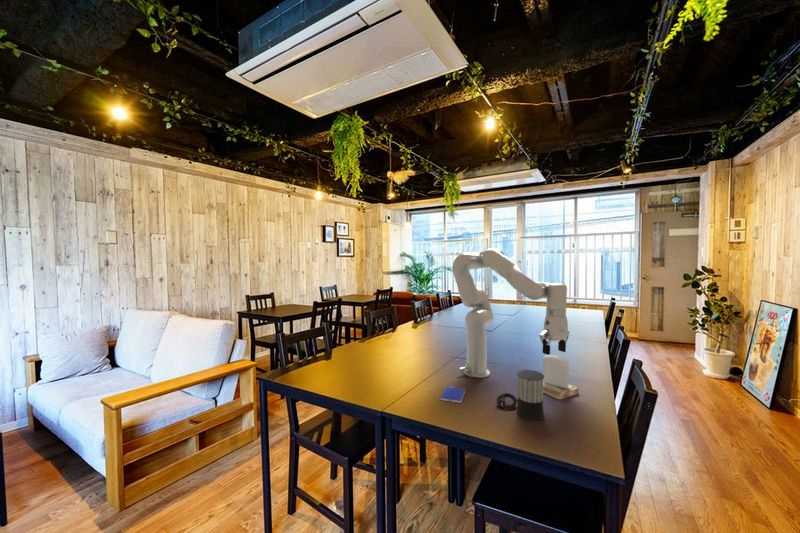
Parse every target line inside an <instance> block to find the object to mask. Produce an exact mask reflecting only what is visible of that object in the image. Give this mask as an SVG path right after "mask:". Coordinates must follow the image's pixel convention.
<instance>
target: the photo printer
mask: <svg viewBox="0 0 800 533" xmlns="http://www.w3.org/2000/svg"><path fill="white" fill-rule="evenodd" d="M569 363H570V362H569V360H568V359H566V358H564V357H561V356H559V355H555V354H550V355H547V354H545V355H544V356H543V359H542V374H543V375H544V378H543V382H545V383H548V384H551V385H555V386H558V387H561V388H568V387H569V385H570V378H569V377H570V375H569V371H570V369H569V368H570V366H569V365H570V364H569Z"/></svg>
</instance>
